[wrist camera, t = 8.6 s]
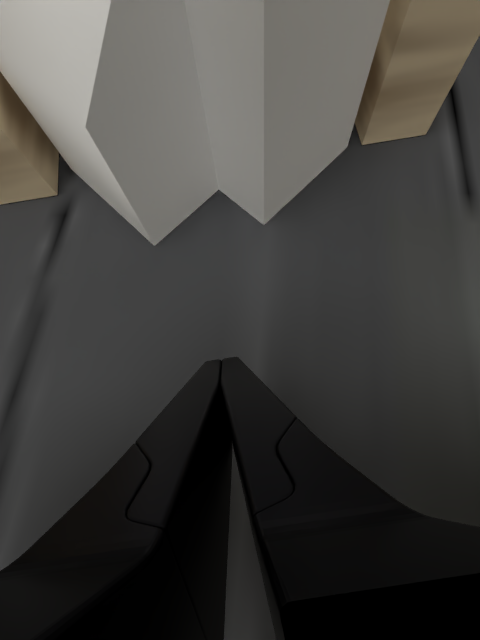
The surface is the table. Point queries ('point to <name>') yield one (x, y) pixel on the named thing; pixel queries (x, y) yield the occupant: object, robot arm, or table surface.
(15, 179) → the wooden rack
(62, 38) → the grey faceted lump
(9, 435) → the table surface
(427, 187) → the table surface
